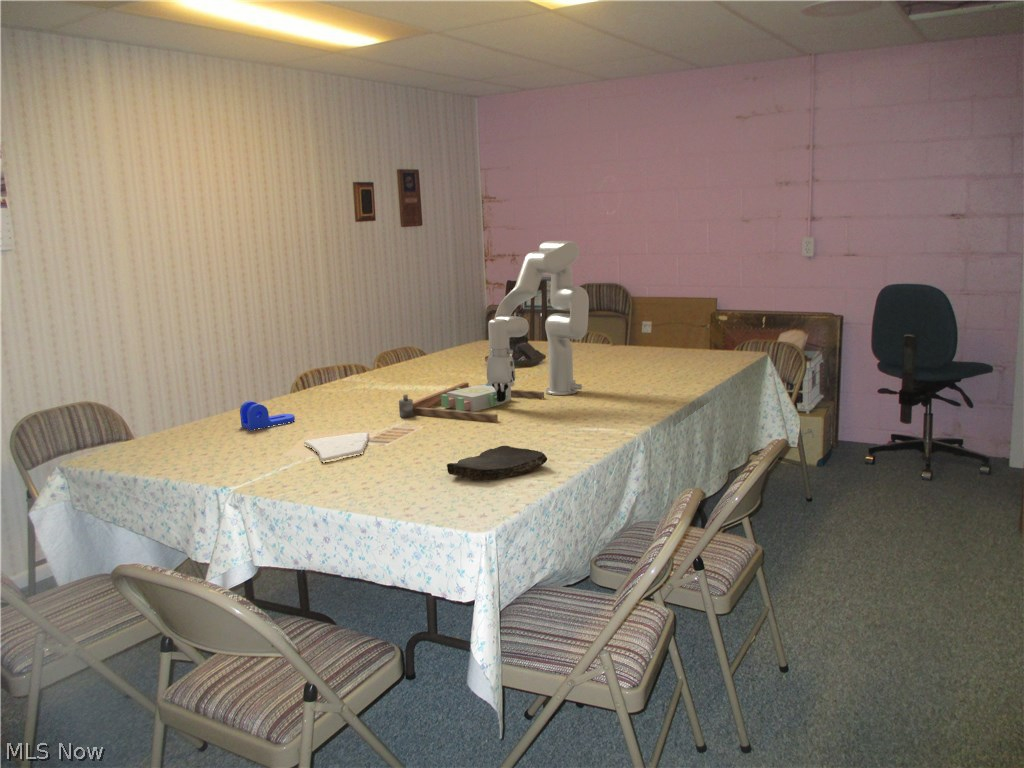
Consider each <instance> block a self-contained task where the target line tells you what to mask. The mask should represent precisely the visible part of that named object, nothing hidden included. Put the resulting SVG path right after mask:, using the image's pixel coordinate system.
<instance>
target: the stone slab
mask: <svg viewBox="0 0 1024 768" xmlns="http://www.w3.org/2000/svg"><path fill="white" fill-rule="evenodd" d="M547 461H548V457H547V456H546V454H545V453H544V452H542V451H538V450H534V449H529V448H521V447H520V448H519V447H512V446H509V445H501V446H497V447H493V448H488V449H486V450H484V451H482V452H481V453H480V454H479V455H476V456H470V457H465V458H461V459H459V460H458V461H457V462H455V463H452V462H450V463H449V462H448V463H447V464H446V467H447V469H446V470H447V473H448V474H449V475H452V476H455V477H460V478H466V479H470V480H475V481H477V480H480V481H481V480H494V479H504V478H508V477H516V476H520V475H522V474H525V473H529V472H531V471H533V470H536V469H538V468H539V467H542V466H543V465H544V464H545V463H546V462H547Z"/></svg>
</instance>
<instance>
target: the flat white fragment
mask: <svg viewBox="0 0 1024 768" xmlns="http://www.w3.org/2000/svg"><path fill="white" fill-rule="evenodd" d="M368 437H369V438H370V434H369V432H354V433H347V434H341V435H340V434H339V435H334V436H327V437H321V438H320V437H319V438H312V439H307V440H306V439H305V441H304V444H306V445H307V446H309V447H311V448H313V449H314V450H315V451H316V452H317V453H318V454H319V455H318V454H317V453H316V452H315V453H316V454H317V455H318V457H319V456H320V458H319V459H320V462H321V461H326V460H331V459H335V458H339V457H343V456H349V455H354V454H360V453H362V452H363V451H364V452H365V449H366V448H365V446H366V444H367V442H368V441H369V439H368ZM367 445H368V444H367ZM366 447H367V446H366ZM364 448H365V449H364Z"/></svg>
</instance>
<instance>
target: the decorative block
mask: <svg viewBox="0 0 1024 768" xmlns="http://www.w3.org/2000/svg"><path fill="white" fill-rule="evenodd" d="M511 390H512V389H511V387H508V388H507V390H506V399H505V401H503V402H504V403H506V401H507V402H511V401H512V397H511ZM510 400H511V401H510ZM503 402H498V399H497V391H495V388H494V387H493V386H490V385H488V384H487V383H486V384H481V385H476V384H475V385H473V386H470V387H468V388H464V389H461V388H456V390H455V391H451V392H447V395H445V394H442V395H441V404H440V405H441V408H445V409H447V408H448V409H449V408H454V409H456V411H468V412H478V411H481V409H482V410H484V409H485V410H486V409H488V408H489V409H490V408H492V407H495V406H496V405H497V406H500V404H501V405H503V404H504V403H503Z"/></svg>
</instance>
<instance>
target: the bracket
mask: <svg viewBox="0 0 1024 768" xmlns="http://www.w3.org/2000/svg"><path fill="white" fill-rule="evenodd" d="M239 416H240V425H241V426H242V427H244V428H243V429H245V428H247V429H249V430H254V429H258V428H264V427H268V426H273V425H278V424H283V423H288V422H292V421H294V420H295V421H296V419H295V418H296V416H295V415H294V414H292V413H281V414H275V415H270V416H269V410H268V408H267V407H266V406H265V405H263V404H261V403H257V402H255V401H251V400H248V401H245V402H244V403H242V405H241V406H240V407H239ZM295 421H294V422H295ZM242 427H241V428H242ZM247 429H246V430H247ZM264 429H265V428H264ZM249 430H248V431H249ZM254 431H255V430H254Z"/></svg>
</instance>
